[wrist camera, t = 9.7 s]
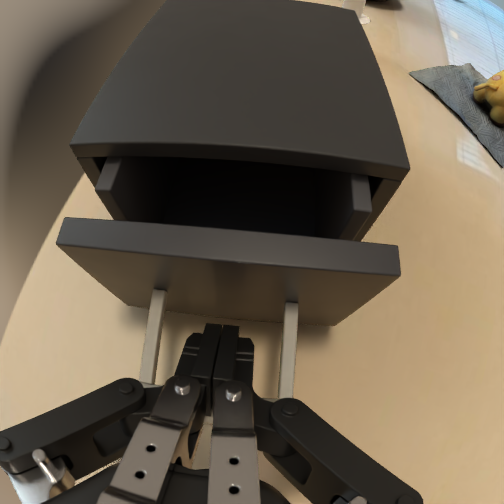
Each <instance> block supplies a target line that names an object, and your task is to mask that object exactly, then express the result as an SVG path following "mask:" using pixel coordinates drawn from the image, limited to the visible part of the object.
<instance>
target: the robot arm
mask: <svg viewBox="0 0 504 504" xmlns="http://www.w3.org/2000/svg"><path fill="white" fill-rule="evenodd" d="M253 361H254V344H253V342H252V341H251V339H250V338H242V337H239V326H231V325H223V326H222V325H220V324H211V323H206V325H205V329H204V332H203V334H202V333H193V334H192V335H190V336H189V337H188V338H187V340H186V343H185V345H184V348H183V351H182V354H181V357H180V360H179V363H178V366H177V369H176V372H175V375H174V376H172V377H171V378H169V379H168V380H167V381H166V383H165V385H163V386H159V387H150V388H144V386H143V385H142V383H141V382H139V381H138V380H136V379H132V378H122V379H119V380H116V381H114V382H112V383H110V384H108V385H106V386H104V387H102V388H100V389H97V390H95V391H93V392H91V393H89V394H87V395H84V396H82V397H80V398H78V399H76V400H73V401H71V402H69V403H67V404H64V405H62V406H60V407H58V408H55V409H53V410H51V411H49V412H46V413H44V414H42V415H39V416H37V417H35V418H32V419H30V420H27V421H25V422H23V423H20V424H18V425H15V426H13V427H10V428H8V429H5V430H3V431H0V466H1V468H2V469H3V470H4V471H5V472H6V474H7V475H8V476H9V478H10V480H11V482H12V484H13V486H14V488H15V491H16V492H17V494H18V497H19V499H20V501H21V503H22V504H290V502H289V501H288V500H287V499H286V498H285V497H284V496H283V495H282V494H281V493H280V492H279V491H278V490H277V489H275V488H274V487H273V486H271V485H270V484H268V483H266V482H264V481H261V480H259V468H258V451H257V450H259V451H262V452H263V454H264V456H265V457H266V458H267V459H268V460H269V462H270V463H271V464H272V465H273V466H274V467H275V468H276V469H277V470H278V471H279V472H280V473H281V474H282V475H283V476H284V477H285V478H286V479H287V480H288V481H289V482H290V483H291V484H292V485H293V486H294V487H296V488H297V489H298V490H299V491H300V492H301V493H302V494H303V495H304V496H305V497H306V498H307V499H308V500H309V501H310V502H311V503H313V504H423V499H422V497H421V495H420V494H419V493H418V492H417V491H416V490H414V489H413V488H412V487H410V486H409V485H407V484H406V483H405V482H403V481H402V480H400V479H399V478H398V477H396V476H395V475H394V474H392V473H391V472H389V471H388V470H387V469H385V468H384V467H383V466H381V465H380V464H379V463H377V462H376V461H375V460H373V459H372V458H371V457H369V456H368V455H367V454H366V453H364V452H363V451H362V450H360V449H359V448H358V447H357V446H355V445H354V444H353V443H351V442H350V441H349V440H348V439H346V438H345V437H344V436H343V435H341V434H340V433H339V432H338V431H337V430H335V429H334V428H333V427H332V426H330V425H329V424H328V423H327V422H326V421H324V420H323V419H322V418H321V417H320V416H318V415H317V414H316V413H315V412H314V411H312V410H311V409H310V408H309V407H308V406H307V405H305V404H304V403H303V402H302V401H300V400H298V399H294V398H281V399H279V400H277V401H275V402H270V401H267V400H265V399H262V398H261V397H259V396H258V395H257V394H256V393H255V392H254V390H253V387H252V380H253ZM212 408H213V429H212V433H211V448H210V465H209V469H199V470H193V469H192V464H193V460H194V457H195V454H196V450H197V447H198V444H199V440H200V437H201V434H202V426H203V423H204V418H205V416H209V417H211V414H212ZM122 456H123V457H122ZM120 457H122V459H121V461H120V463H117V464H114V465H112V466H110V467H108V468H106V469H104V470H103V471H101V472H99V473H97V474H96V475H94V476H92V477H90V478H88V479H87V480H85V481H83V482H81V483H79V484H77V485H76V486H75V481H76V480H78V479H80V478H82V477H84V476H86V475H88V474H90V473H92V472H94V471H96V470H98V469H100V468H102V467H104V466H106V465H107V464H109V463H111V462H113V461H115V460H117V459H118V458H120Z"/></svg>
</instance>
